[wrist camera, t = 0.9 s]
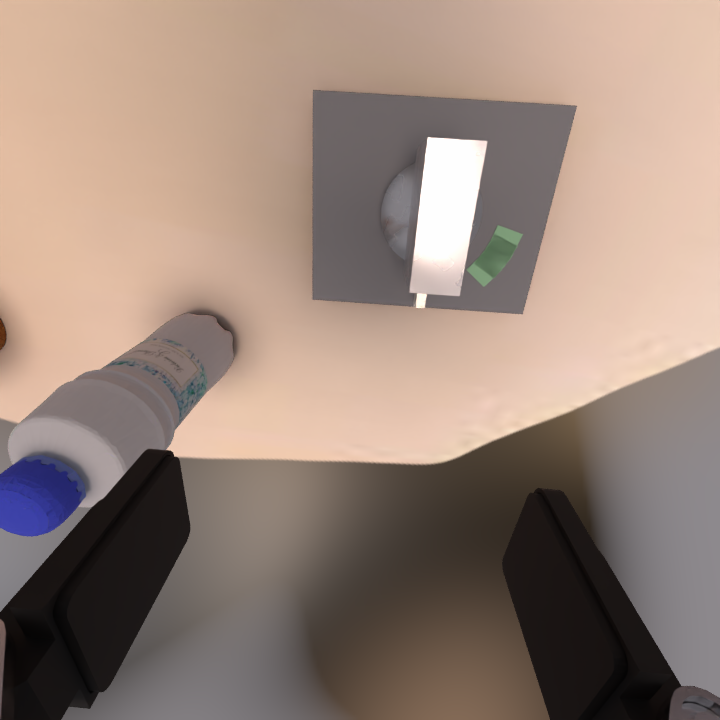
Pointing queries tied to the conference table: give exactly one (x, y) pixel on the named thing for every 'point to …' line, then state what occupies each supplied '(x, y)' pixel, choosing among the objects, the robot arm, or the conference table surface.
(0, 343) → the disposable coffee cup
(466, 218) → the knob
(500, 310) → the dial board
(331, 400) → the conference table surface
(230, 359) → the bottle
